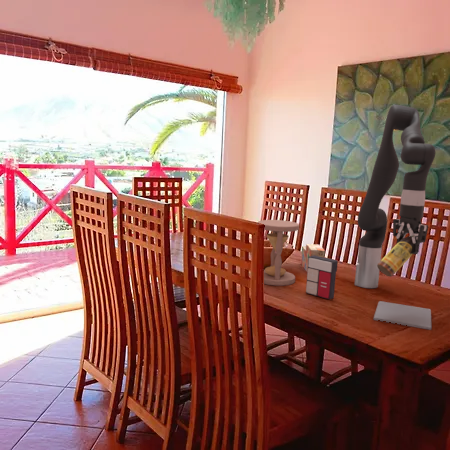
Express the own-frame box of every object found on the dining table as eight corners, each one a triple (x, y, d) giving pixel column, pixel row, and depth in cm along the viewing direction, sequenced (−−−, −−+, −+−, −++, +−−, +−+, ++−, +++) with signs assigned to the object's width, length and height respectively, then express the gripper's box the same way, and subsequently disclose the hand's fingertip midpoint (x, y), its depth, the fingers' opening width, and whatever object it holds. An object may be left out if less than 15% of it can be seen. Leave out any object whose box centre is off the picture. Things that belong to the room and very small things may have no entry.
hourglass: (294, 287, 191) (298, 227, 186) (252, 283, 193) (255, 224, 189) (295, 276, 208) (299, 221, 204) (256, 272, 211) (259, 218, 206)
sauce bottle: (377, 263, 155) (415, 221, 158) (374, 267, 161) (410, 227, 164) (394, 276, 153) (431, 233, 156) (390, 280, 159) (426, 238, 161)
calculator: (304, 293, 183) (307, 256, 181) (310, 291, 186) (313, 254, 184) (328, 300, 176) (332, 262, 174) (334, 298, 179) (338, 260, 177)
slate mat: (373, 319, 157) (373, 317, 157) (378, 302, 176) (379, 300, 175) (431, 329, 150) (431, 327, 150) (430, 311, 169) (430, 309, 169)
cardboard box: (300, 264, 231) (302, 240, 229) (313, 264, 231) (315, 240, 229) (309, 275, 210) (311, 249, 208) (322, 276, 210) (324, 249, 208)
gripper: (437, 206, 151) (431, 256, 154) (405, 200, 164) (400, 246, 167) (419, 206, 148) (414, 257, 151) (388, 200, 161) (383, 247, 164)
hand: (407, 251), depth 159 cm, fingers closed on sauce bottle, 6 cm apart
